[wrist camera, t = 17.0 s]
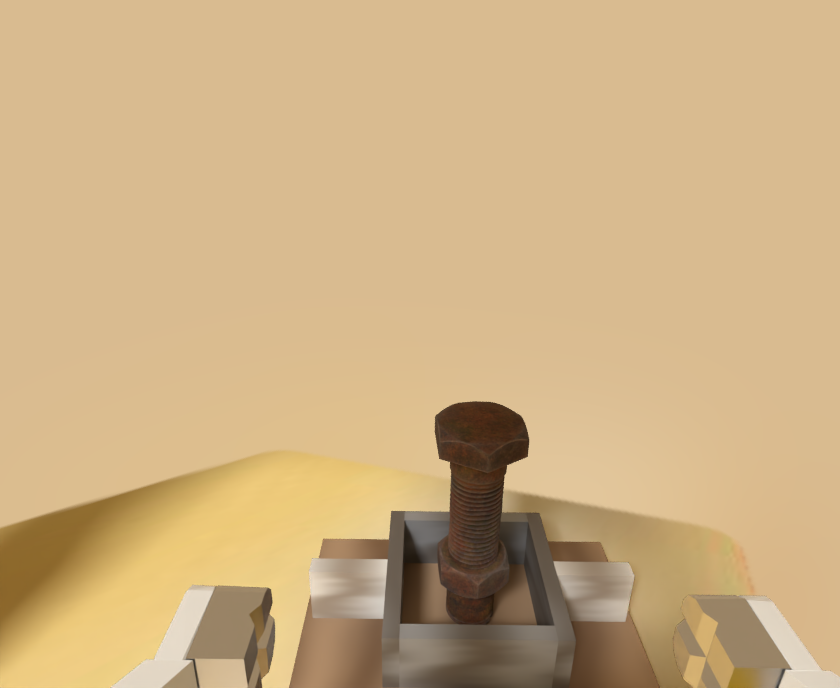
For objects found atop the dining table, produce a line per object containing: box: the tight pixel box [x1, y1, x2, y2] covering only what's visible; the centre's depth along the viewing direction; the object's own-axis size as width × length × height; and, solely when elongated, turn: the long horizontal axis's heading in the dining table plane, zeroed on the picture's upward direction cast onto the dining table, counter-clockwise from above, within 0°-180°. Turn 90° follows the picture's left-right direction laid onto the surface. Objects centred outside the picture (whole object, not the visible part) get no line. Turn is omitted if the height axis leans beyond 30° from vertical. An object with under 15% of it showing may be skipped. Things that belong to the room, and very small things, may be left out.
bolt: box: [435, 402, 529, 625], centre depth 36 cm, size 6×5×15 cm
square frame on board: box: [289, 511, 660, 688], centre depth 38 cm, size 22×14×6 cm, turn 90°
